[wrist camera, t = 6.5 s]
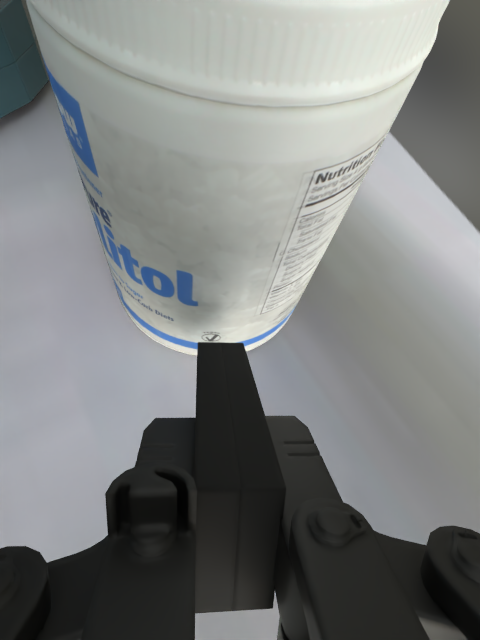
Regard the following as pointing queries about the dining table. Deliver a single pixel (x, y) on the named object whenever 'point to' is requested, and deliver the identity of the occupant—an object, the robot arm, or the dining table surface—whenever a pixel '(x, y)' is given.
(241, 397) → the robot arm
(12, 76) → the bowl
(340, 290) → the dining table surface
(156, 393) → the dining table surface
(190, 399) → the dining table surface
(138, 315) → the supplement tub
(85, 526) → the dining table surface
